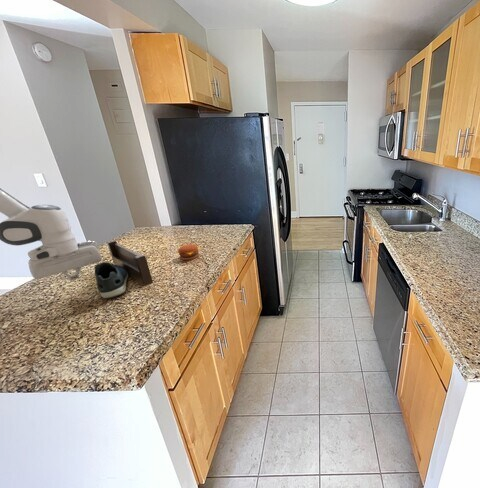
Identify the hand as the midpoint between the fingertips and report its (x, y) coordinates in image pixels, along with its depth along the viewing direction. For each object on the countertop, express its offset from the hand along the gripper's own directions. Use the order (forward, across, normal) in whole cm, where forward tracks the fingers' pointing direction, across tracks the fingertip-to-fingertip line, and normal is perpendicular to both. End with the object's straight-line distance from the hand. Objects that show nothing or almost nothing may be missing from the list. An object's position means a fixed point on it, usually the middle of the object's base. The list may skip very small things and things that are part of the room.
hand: (74, 279), depth 104 cm
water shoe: (+6, -11, +4) cm, 13 cm away
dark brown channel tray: (+6, -18, 0) cm, 19 cm away
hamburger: (+6, -44, +4) cm, 45 cm away
